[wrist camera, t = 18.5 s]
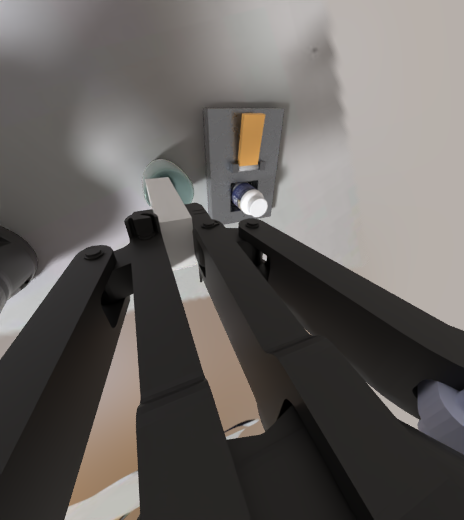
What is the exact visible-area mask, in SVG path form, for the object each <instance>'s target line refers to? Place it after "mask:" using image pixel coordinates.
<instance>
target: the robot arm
mask: <svg viewBox="0 0 464 520" xmlns="http://www.w3.org/2000/svg"><path fill="white" fill-rule="evenodd" d="M145 182H146V187H147V191H148V196H149V201H150V205H151V210H144V211H137V212H134V213H133V214H132V215H130V216H128V217H127V218H126V219H125V221H124V222H125V225H126V228H127V232H128V235H129V238H130V243H129V244H128V245H127V246H125V247H124V248H121V249H119V250H116V251H113V250H112V248H111V247H109V246H106V245H98V246H91V247H88V248H86V249H84V250H82V251H80V252H79V253H78V254H77V255H76V256H75V257H74V259H73V260H72V261H71V263H70V264H69V266H68V267H67V268H66V270H65V271H64V272H63V274H62V275H61V277H60V278H59V279H58V281H57V282H56V284H55V285H54V286H53V288H52V289H51V290H50V292H49V293H48V295H47V296H46V297H45V299H44V300H43V302H42V303H41V304H40V306H39V307H38V308H37V310H36V311H35V313H34V314H33V315H32V317H31V318H30V320H29V321H28V322H27V324H26V325H25V326H24V328H23V329H22V331H21V332H20V333H19V335H18V336H17V337H16V339H15V340H14V342H13V343H12V344H11V346H10V347H9V349H8V350H7V351H6V353H5V354H4V356H3V357H2V358H1V360H0V520H64V519H65V516H66V512H67V509H68V505H69V502H70V499H71V495H72V492H73V489H74V485H75V482H76V479H77V475H78V472H79V469H80V465H81V462H82V459H83V455H84V452H85V448H86V445H87V442H88V439H89V435H90V432H91V429H92V425H93V422H94V419H95V415H96V412H97V408H98V405H99V402H100V399H101V395H102V392H103V388H104V385H105V382H106V378H107V375H108V372H109V369H110V365H111V362H112V359H113V355H114V352H115V348H116V345H117V342H118V338H119V335H120V332H121V328H122V325H123V321H124V318H125V315H126V312H127V308H128V305H129V302H130V295H131V294H133V293H134V308H135V321H136V336H137V350H138V365H139V379H140V393H141V401H140V405H139V406H138V408H137V413H136V435H137V457H138V477H139V497H140V515H139V517H138V519H137V520H464V331H463V330H460V329H457V328H455V327H452V326H449V325H447V324H445V323H444V322H442V321H440V320H438V319H436V318H435V317H433V316H431V315H429V314H428V313H426V312H424V311H422V310H421V309H419V308H417V307H415V306H413V305H412V304H410V303H408V302H406V301H404V300H403V299H401V298H399V297H397V296H396V295H394V294H392V293H390V292H388V291H387V290H385V289H383V288H381V287H379V286H378V285H376V284H374V283H372V282H370V281H369V280H367V279H365V278H363V277H362V276H360V275H358V274H356V273H354V272H353V271H351V270H349V269H347V268H346V267H344V266H342V265H340V264H338V263H337V262H335V261H333V260H331V259H329V258H328V257H326V256H324V255H322V254H321V253H319V252H317V251H315V250H313V249H312V248H310V247H308V246H306V245H304V244H303V243H301V242H299V241H297V240H295V239H294V238H292V237H290V236H288V235H287V234H285V233H283V232H281V231H279V230H278V229H276V228H274V227H272V226H270V225H269V224H267V223H265V222H263V221H261V220H259V219H255V218H248V219H244V220H242V221H240V222H239V228H225V227H224V225H223V224H222V223H221V222H220V221H218V220H215V219H211V217H210V216H209V215H208V213H207V212H206V210H205V209H204V208H203V206H202V205H200V204H198V203H190V204H184V203H183V201H182V200H181V198H180V196H179V195H178V193H177V191H176V189H175V188H174V186H173V184H172V183H171V181H170V179H169V177H163V178H153V179H145ZM263 253H264V254H265V255H267V261H265V260H263V259H262V256H263ZM196 259H197V261H198V264H199V274H200V282H202V278H203V281H204V283H205V285H206V288H207V290H208V292H209V294H210V297H211V299H212V301H213V303H214V306H215V308H216V310H217V312H218V315H219V317H220V319H221V321H222V324H223V326H224V328H225V331H226V333H227V335H228V337H229V340H230V342H231V344H232V346H233V349H234V351H235V353H236V355H237V358H238V360H239V362H240V364H241V367H242V369H243V371H244V374H245V376H246V378H247V380H248V383H249V385H250V387H251V389H252V392H253V394H254V397H255V399H256V402H257V407H258V412H259V416H260V419H261V422H262V424H263V427H264V430H265V433H263V434H261V435H256V436H249V437H242V438H236V439H229V440H226V437H225V434H224V431H223V427H222V424H221V421H220V418H219V414H218V411H217V408H216V405H215V401H214V398H213V395H212V392H211V389H210V386H209V384H208V381H207V380H206V378H205V376H204V373H203V370H202V367H201V364H200V360H199V357H198V354H197V351H196V347H195V344H194V341H193V337H192V334H191V330H190V328H189V324H188V320H187V318H186V314H185V310H184V307H183V304H182V300H181V297H180V294H179V290H178V287H177V284H176V281H175V277H174V274H173V271H174V270H179V269H183V268H188V267H192V266H196V265H197V263H196ZM37 266H38V262H37V257H36V254H35V252H34V250H33V249H32V248H31V246H30V245H29V244H28V243H27V242H26V241H25V240H24V239H22V238H21V237H20V236H18V235H17V234H15V233H13V232H11V231H9V230H7V229H5V228H3V227H0V313H1V311H2V309H3V307H4V305H5V303H6V301H7V300H8V299H10V298H11V297H12V296H14V295H15V294H16V293H18V292H19V291H21V290H22V289H23V288H25V287H26V286H27V285H28V284H29V283H30V281H31V280H32V278H33V276H34V274H35V272H36V270H37ZM305 329H306V330H307V331H308V332H309V333H310V334H311V335H310V334H309V333H308V332H307V331H306V330H305ZM312 335H313V336H312ZM366 382H367V383H368V384H369V385H370V386H371V387H373V388H374V389H375V390H376V391H378V392H379V393H380V394H381V395H383V396H384V397H385V398H387V399H388V400H390V401H391V402H393V403H394V404H395V405H397V406H398V407H400V408H401V409H403V410H404V411H406V412H408V413H409V414H411V415H413V416H414V417H416V418H418V419H419V422H418V429H419V430H417V429H415V428H413V427H412V426H410V425H408V424H406V423H404V422H402V421H400V420H399V419H397V418H396V417H395V416H394V415H393V414H392V413H391V411H390V410H389V409H388V408H387V407H386V406H385V404H384V403H383V402H382V401H381V400H380V398H379V397H378V396H377V395H376V394H375V392H374V391H373V390H372V389H371V388H370V387H369V385H368V384H367V383H366Z"/></svg>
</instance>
